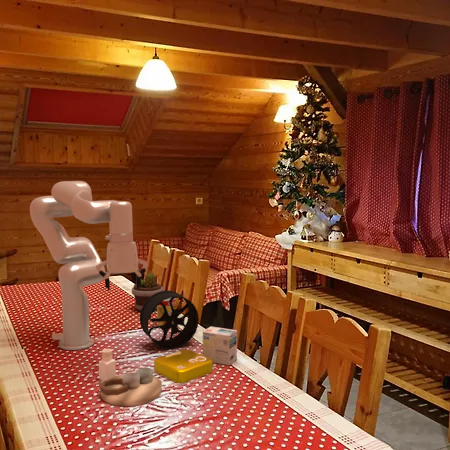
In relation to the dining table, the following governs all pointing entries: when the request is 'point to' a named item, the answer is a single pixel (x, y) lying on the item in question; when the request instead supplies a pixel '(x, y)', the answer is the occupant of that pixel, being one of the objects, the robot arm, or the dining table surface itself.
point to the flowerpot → (145, 290)
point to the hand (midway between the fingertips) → (123, 288)
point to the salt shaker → (107, 365)
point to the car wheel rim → (170, 320)
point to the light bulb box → (220, 345)
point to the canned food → (161, 311)
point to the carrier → (131, 388)
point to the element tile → (183, 366)
